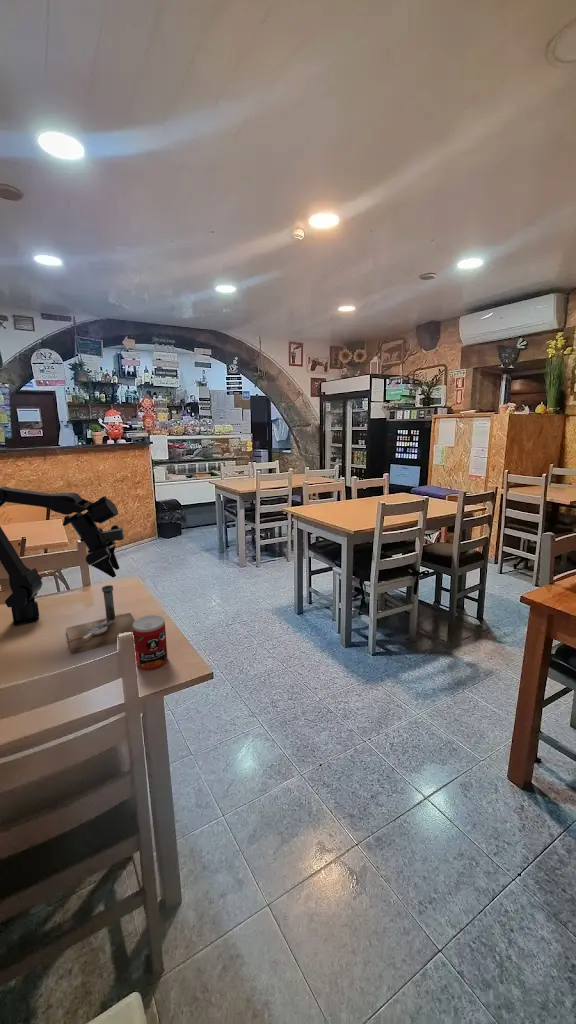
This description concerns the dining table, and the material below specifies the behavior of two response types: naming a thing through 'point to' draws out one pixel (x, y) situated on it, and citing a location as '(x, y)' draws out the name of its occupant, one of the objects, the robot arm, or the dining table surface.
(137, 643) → the canned food
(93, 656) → the dining table surface
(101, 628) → the crank handle
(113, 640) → the stand
